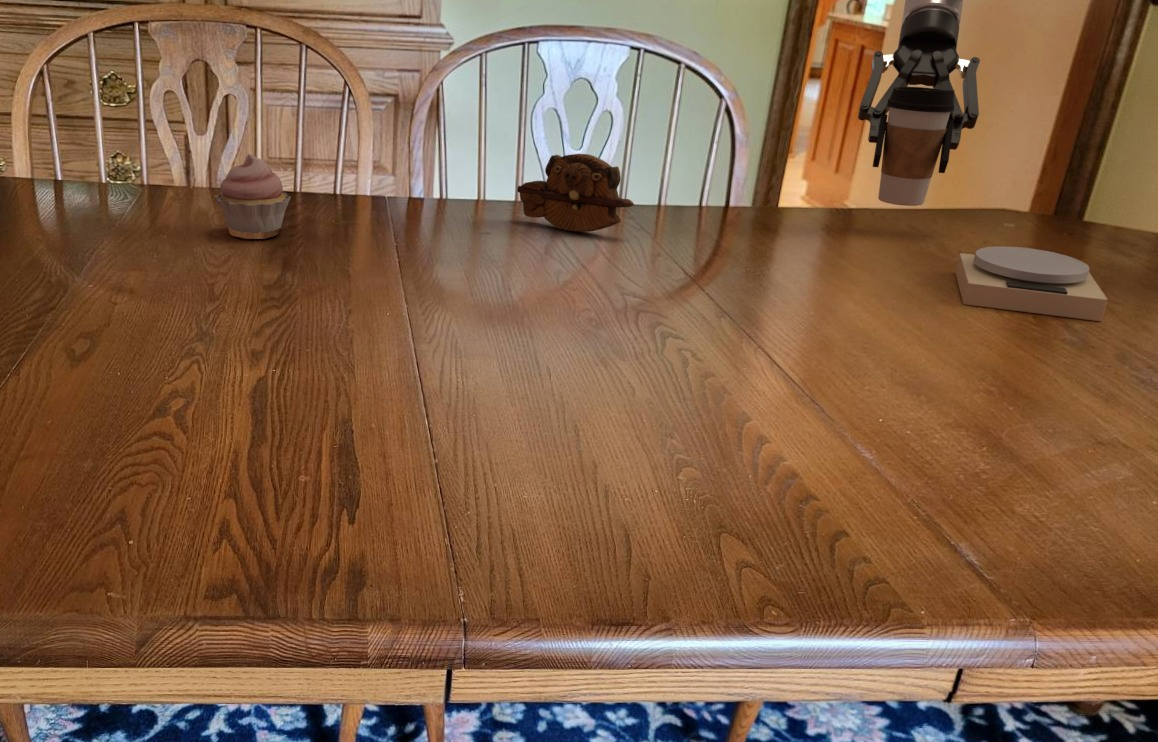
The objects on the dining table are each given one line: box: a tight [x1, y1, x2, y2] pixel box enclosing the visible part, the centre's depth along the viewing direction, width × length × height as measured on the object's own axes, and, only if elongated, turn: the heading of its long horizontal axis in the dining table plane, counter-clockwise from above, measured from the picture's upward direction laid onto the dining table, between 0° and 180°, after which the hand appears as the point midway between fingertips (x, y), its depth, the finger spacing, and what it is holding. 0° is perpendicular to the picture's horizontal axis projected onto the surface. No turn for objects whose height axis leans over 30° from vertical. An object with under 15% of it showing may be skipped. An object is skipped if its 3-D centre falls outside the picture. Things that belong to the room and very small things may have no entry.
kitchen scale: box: [954, 245, 1109, 322], centre depth 126 cm, size 14×14×4 cm
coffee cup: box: [877, 86, 956, 207], centre depth 148 cm, size 8×8×15 cm
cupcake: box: [214, 153, 291, 233], centre depth 137 cm, size 9×9×10 cm
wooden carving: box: [516, 153, 635, 232], centre depth 145 cm, size 16×5×10 cm, turn 60°
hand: (909, 163), depth 145 cm, fingers closed on coffee cup, 8 cm apart
